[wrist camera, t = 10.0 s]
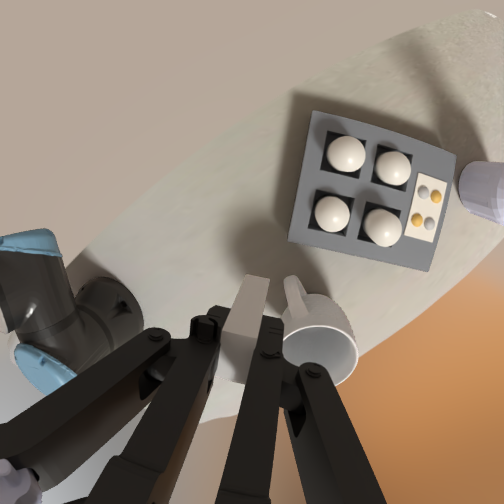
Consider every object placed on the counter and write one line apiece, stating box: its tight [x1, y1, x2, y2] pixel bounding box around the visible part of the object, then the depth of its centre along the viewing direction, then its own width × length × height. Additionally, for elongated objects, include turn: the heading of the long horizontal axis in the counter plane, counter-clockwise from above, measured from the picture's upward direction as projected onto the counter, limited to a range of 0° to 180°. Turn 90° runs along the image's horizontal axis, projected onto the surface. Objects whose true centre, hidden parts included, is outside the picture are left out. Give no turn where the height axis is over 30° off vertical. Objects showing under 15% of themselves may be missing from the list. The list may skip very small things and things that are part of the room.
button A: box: [314, 195, 350, 232], centre depth 39 cm, size 4×4×4 cm
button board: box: [287, 110, 457, 272], centre depth 38 cm, size 22×18×4 cm
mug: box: [280, 275, 358, 386], centre depth 40 cm, size 15×11×13 cm
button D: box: [372, 152, 411, 185], centre depth 36 cm, size 4×4×4 cm
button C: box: [362, 208, 402, 247], centre depth 37 cm, size 4×4×4 cm
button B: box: [326, 136, 365, 172], centre depth 35 cm, size 4×4×4 cm
